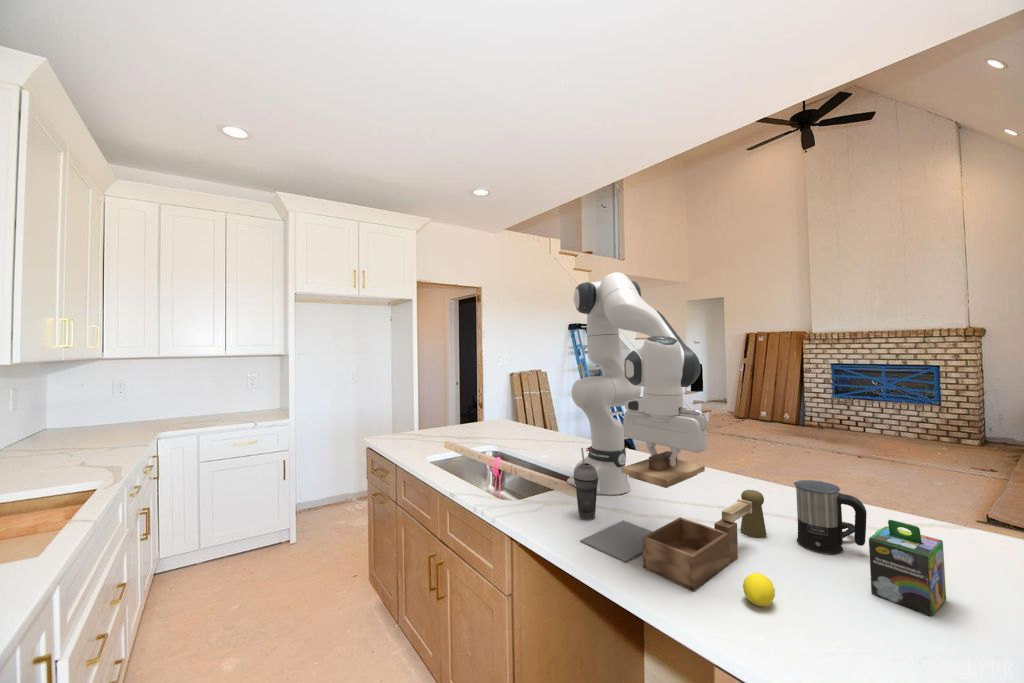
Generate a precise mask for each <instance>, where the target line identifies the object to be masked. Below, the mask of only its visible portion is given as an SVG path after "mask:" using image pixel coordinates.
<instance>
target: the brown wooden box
mask: <svg viewBox="0 0 1024 683" xmlns="http://www.w3.org/2000/svg"><path fill="white" fill-rule="evenodd" d="M713 526H714V528H713V527H711V526H708V525H705V524H701V523H699V522H695V521H692V520H690V519H687V518H683V517H678V518H676V519H674V520H672V521H671V522H668V523H666V524H665V525H662V526H661V527H659V528H657V529H655V530H652V531H653V532H651V533H649V534H647V535H646V536H644V537H642V543H643V553H642V569H644V570H646V571H648V572H650V573H652V574H655V575H657V576H660V577H661V578H663V579H666V580H668V581H670V582H672V583H675V584H677V585H679V586H682V587H683V588H685V589H688V590H690V591H693V592H696V591H697V590H699V589H700V588H701V587H703V585H705V584H706V583H707V582H709V581H710V580H711V579H713V578H714V577H715V576H717V575H718V574H720V573H721V572H722V571H723V570H724V569H726V568H727V567H728V566H730V565H731V564H732V563H734V562H735V561H737V559H738V558H739V551H738V550H739V548H738V547H739V546H738V544H739V542H738V540H739V539H738V538H739V537H738V522H736V521H734V522H733V523H732V522H728V521H725V520H722V518H721V519H719V520H718V521H716V522H714V525H713Z"/></svg>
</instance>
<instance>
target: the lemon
mask: <svg viewBox="0 0 1024 683" xmlns="http://www.w3.org/2000/svg"><path fill="white" fill-rule="evenodd" d="M742 588H743V593H744V595H745V597H746V598H747V600H748V601H749V602H751V603H752V604H753V605H756V606H758V607H768V606H769V605H770V604H772V602H773V601H774V599H775V597H776V596H775V595H776V594H775V592H776V590H775V587H774V584H773V582H772V580H770V578H769V577H768V576H766V575H764V574H762V573H759V572H758V573H757V572H754V573H751V574H748V575H747V576H745V578H744V579H743V584H742Z"/></svg>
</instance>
